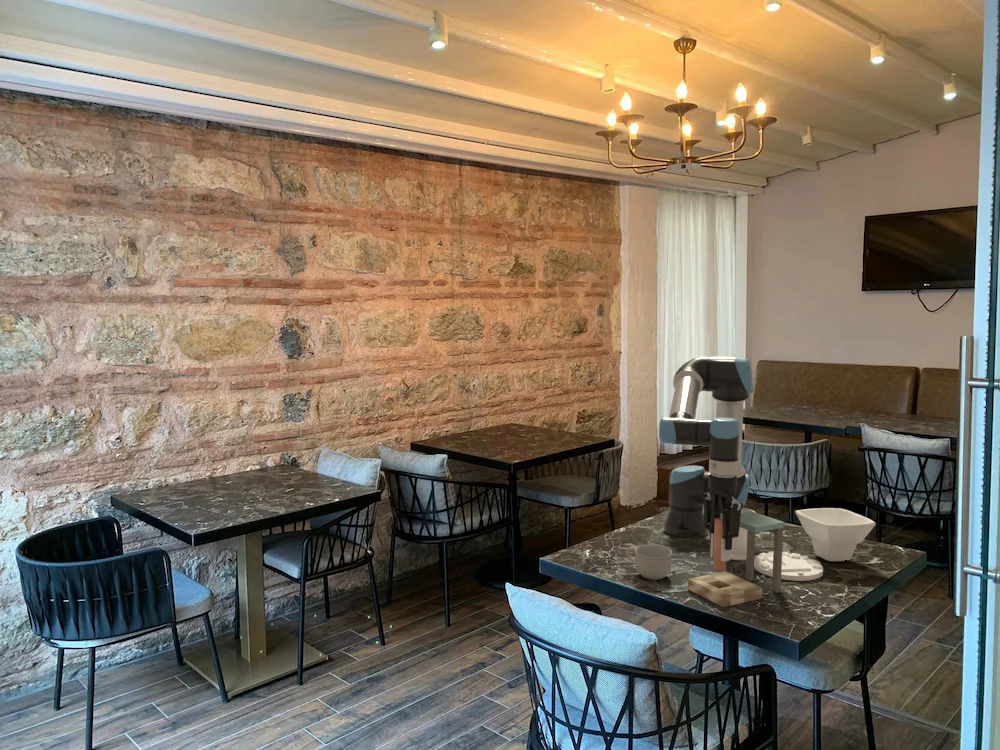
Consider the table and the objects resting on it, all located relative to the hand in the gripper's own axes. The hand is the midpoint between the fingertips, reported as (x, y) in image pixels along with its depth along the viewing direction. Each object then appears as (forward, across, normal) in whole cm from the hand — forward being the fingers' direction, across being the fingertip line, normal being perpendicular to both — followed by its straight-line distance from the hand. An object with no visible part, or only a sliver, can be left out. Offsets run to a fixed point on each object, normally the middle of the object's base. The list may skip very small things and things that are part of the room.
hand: (720, 558), depth 203 cm
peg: (+3, 0, 0) cm, 3 cm away
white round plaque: (+11, -6, +33) cm, 35 cm away
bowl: (+11, -7, +54) cm, 55 cm away
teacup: (+11, -21, -8) cm, 25 cm away
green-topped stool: (+10, 0, +12) cm, 16 cm away
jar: (+11, -22, +28) cm, 37 cm away
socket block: (+10, 0, +2) cm, 11 cm away
